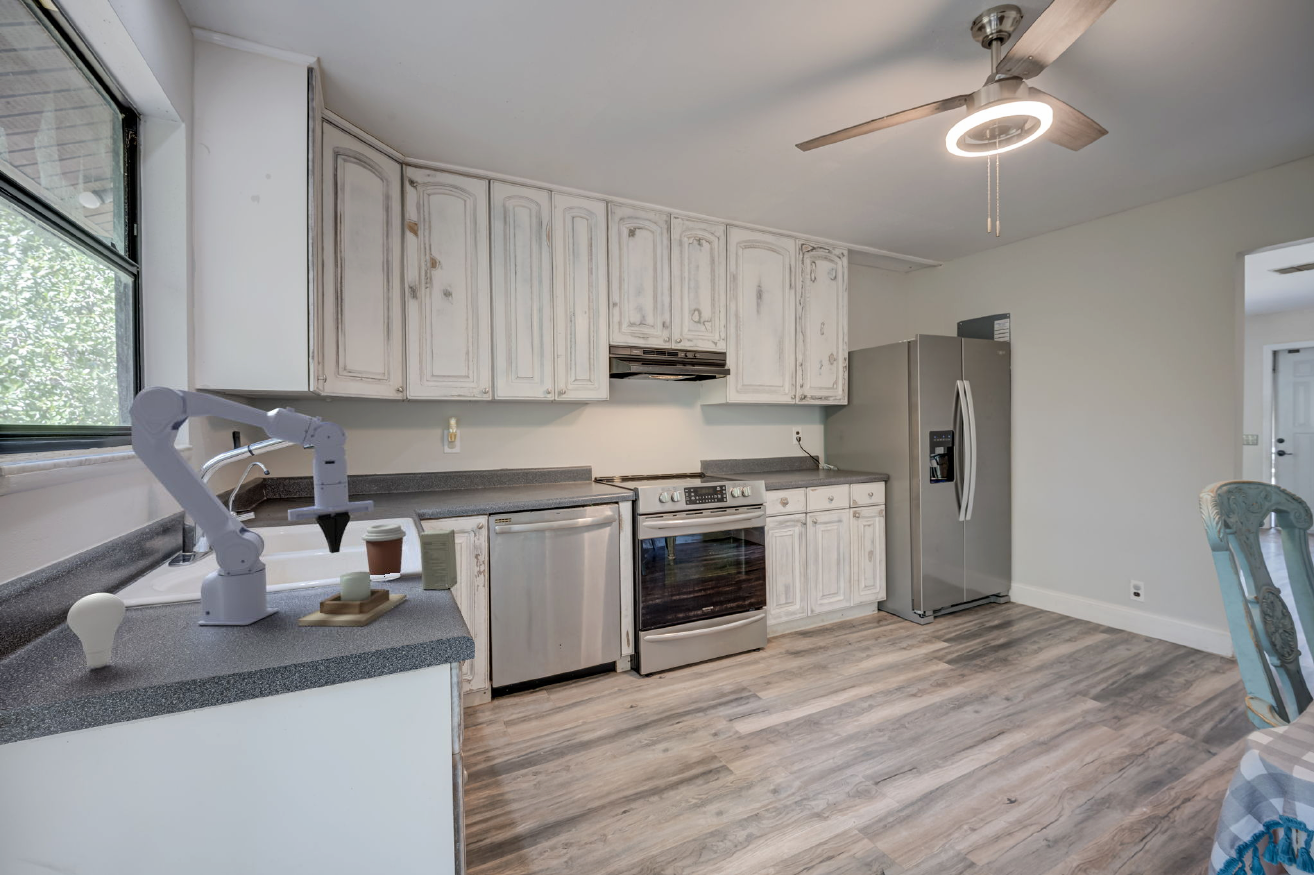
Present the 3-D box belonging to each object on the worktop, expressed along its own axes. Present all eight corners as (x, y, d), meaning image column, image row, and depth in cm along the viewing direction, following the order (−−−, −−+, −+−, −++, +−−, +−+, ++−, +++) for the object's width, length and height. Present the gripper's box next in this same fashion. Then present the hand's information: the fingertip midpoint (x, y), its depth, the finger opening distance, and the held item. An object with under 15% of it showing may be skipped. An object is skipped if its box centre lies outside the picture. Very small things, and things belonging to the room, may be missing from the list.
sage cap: (335, 610, 105) (334, 578, 104) (351, 602, 110) (350, 571, 109) (360, 611, 104) (359, 578, 104) (376, 602, 109) (375, 571, 109)
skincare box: (457, 583, 125) (456, 528, 124) (451, 589, 120) (449, 532, 120) (428, 584, 125) (426, 529, 124) (420, 590, 120) (419, 533, 120)
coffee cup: (405, 581, 128) (404, 528, 127) (360, 585, 125) (358, 531, 124) (408, 571, 136) (406, 521, 136) (366, 575, 133) (364, 524, 133)
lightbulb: (57, 675, 81) (54, 599, 81) (105, 657, 87) (102, 586, 87) (92, 677, 80) (89, 600, 80) (138, 659, 86) (135, 588, 86)
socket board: (298, 625, 100) (297, 608, 100) (349, 599, 115) (348, 584, 115) (363, 625, 99) (363, 609, 99) (406, 599, 114) (406, 584, 114)
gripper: (291, 488, 103) (295, 562, 104) (376, 480, 113) (380, 548, 113) (284, 486, 108) (288, 556, 109) (366, 478, 118) (370, 543, 119)
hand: (334, 551), depth 111 cm, fingers closed
